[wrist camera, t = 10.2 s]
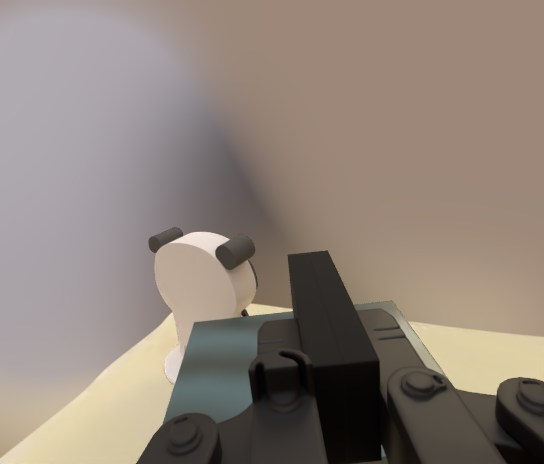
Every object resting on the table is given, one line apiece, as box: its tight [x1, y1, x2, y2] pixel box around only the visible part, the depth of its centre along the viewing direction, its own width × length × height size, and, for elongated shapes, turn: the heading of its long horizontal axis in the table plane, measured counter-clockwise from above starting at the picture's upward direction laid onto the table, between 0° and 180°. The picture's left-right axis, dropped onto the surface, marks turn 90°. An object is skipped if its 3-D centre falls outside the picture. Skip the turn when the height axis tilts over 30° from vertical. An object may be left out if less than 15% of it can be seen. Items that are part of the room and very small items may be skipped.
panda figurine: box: [149, 227, 258, 385], centre depth 42 cm, size 12×11×15 cm
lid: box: [163, 301, 449, 464], centre depth 25 cm, size 14×17×1 cm
